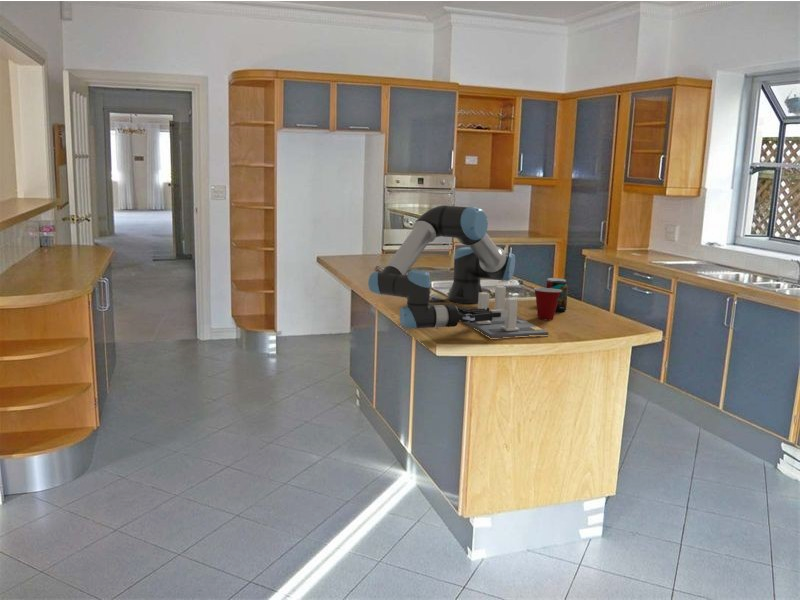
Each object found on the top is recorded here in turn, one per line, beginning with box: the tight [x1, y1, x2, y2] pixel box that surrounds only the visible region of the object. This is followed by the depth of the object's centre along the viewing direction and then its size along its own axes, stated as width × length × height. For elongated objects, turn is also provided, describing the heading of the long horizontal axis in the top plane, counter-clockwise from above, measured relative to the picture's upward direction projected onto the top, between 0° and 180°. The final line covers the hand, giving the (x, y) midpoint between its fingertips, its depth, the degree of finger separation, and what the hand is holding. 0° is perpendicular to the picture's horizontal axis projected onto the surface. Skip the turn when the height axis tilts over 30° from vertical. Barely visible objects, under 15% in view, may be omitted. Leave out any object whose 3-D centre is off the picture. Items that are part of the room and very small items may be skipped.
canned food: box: [545, 277, 567, 288], centre depth 302 cm, size 8×8×11 cm
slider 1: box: [476, 291, 491, 324], centre depth 257 cm, size 4×5×11 cm
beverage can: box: [550, 281, 569, 313], centre depth 290 cm, size 7×7×12 cm
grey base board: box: [463, 316, 549, 339], centre depth 261 cm, size 33×22×2 cm, turn 17°
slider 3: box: [501, 297, 519, 331], centre depth 249 cm, size 4×5×11 cm
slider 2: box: [493, 285, 507, 310], centre depth 271 cm, size 4×5×11 cm
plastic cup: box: [533, 287, 562, 321], centre depth 275 cm, size 11×11×12 cm
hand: (507, 313), depth 248 cm, fingers closed
